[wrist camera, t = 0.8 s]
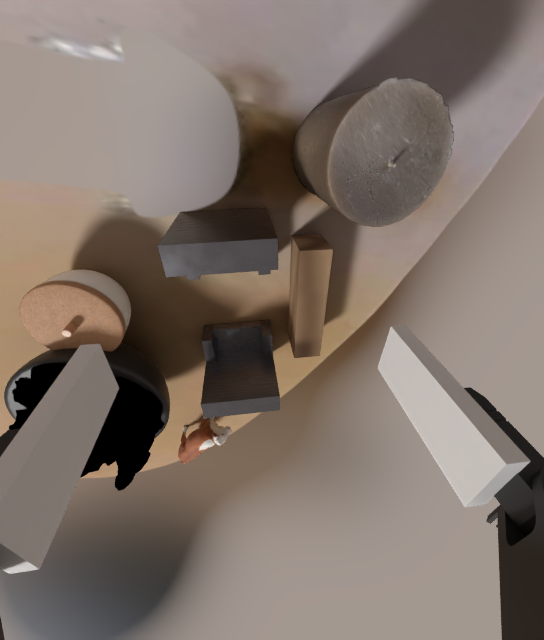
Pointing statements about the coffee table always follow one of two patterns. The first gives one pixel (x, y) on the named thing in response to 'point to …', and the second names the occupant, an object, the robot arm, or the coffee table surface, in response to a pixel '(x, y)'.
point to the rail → (308, 292)
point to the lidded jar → (77, 311)
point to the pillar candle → (376, 150)
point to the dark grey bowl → (124, 415)
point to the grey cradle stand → (231, 338)
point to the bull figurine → (201, 439)
